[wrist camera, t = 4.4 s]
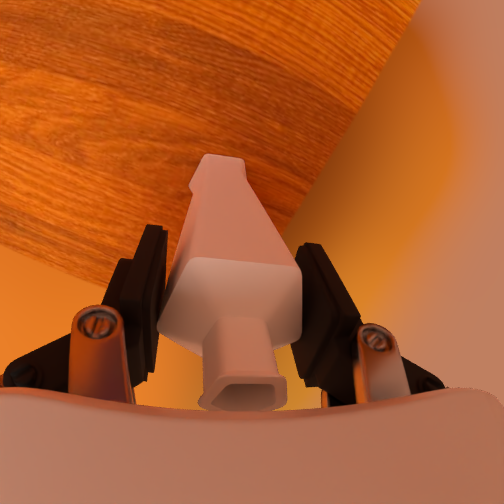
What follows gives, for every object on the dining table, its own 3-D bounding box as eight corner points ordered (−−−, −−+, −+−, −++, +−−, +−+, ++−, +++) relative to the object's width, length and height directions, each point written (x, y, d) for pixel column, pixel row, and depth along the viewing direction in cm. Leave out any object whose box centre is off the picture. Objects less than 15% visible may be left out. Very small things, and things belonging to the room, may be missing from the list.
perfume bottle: (235, 224, 21) (276, 442, 8) (176, 198, 19) (137, 420, 7) (270, 167, 19) (381, 358, 6) (208, 136, 17) (205, 308, 5)
